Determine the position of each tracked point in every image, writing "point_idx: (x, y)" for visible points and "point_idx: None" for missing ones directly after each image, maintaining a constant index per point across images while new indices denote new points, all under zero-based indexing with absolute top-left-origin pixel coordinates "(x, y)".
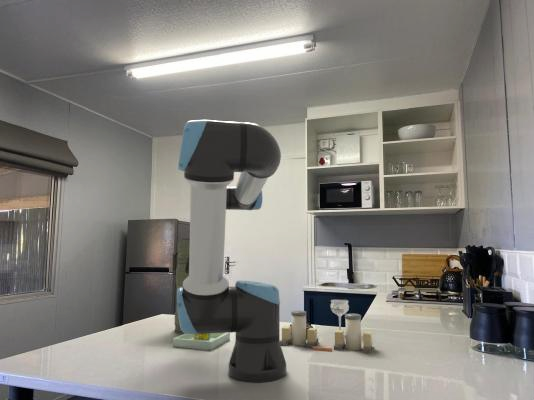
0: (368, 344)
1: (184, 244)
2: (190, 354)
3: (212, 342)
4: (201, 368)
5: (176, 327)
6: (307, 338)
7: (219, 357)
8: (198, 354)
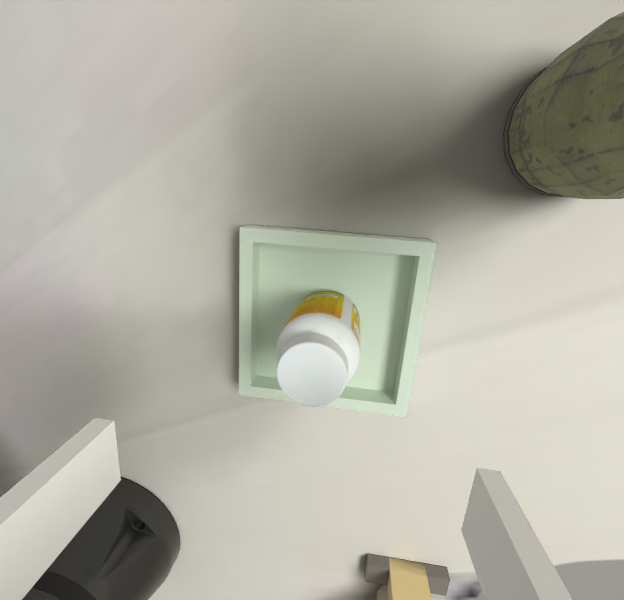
0: None
1: None
2: (183, 332)
3: (247, 394)
4: (87, 407)
5: (534, 83)
6: None
7: (188, 423)
8: (192, 356)
